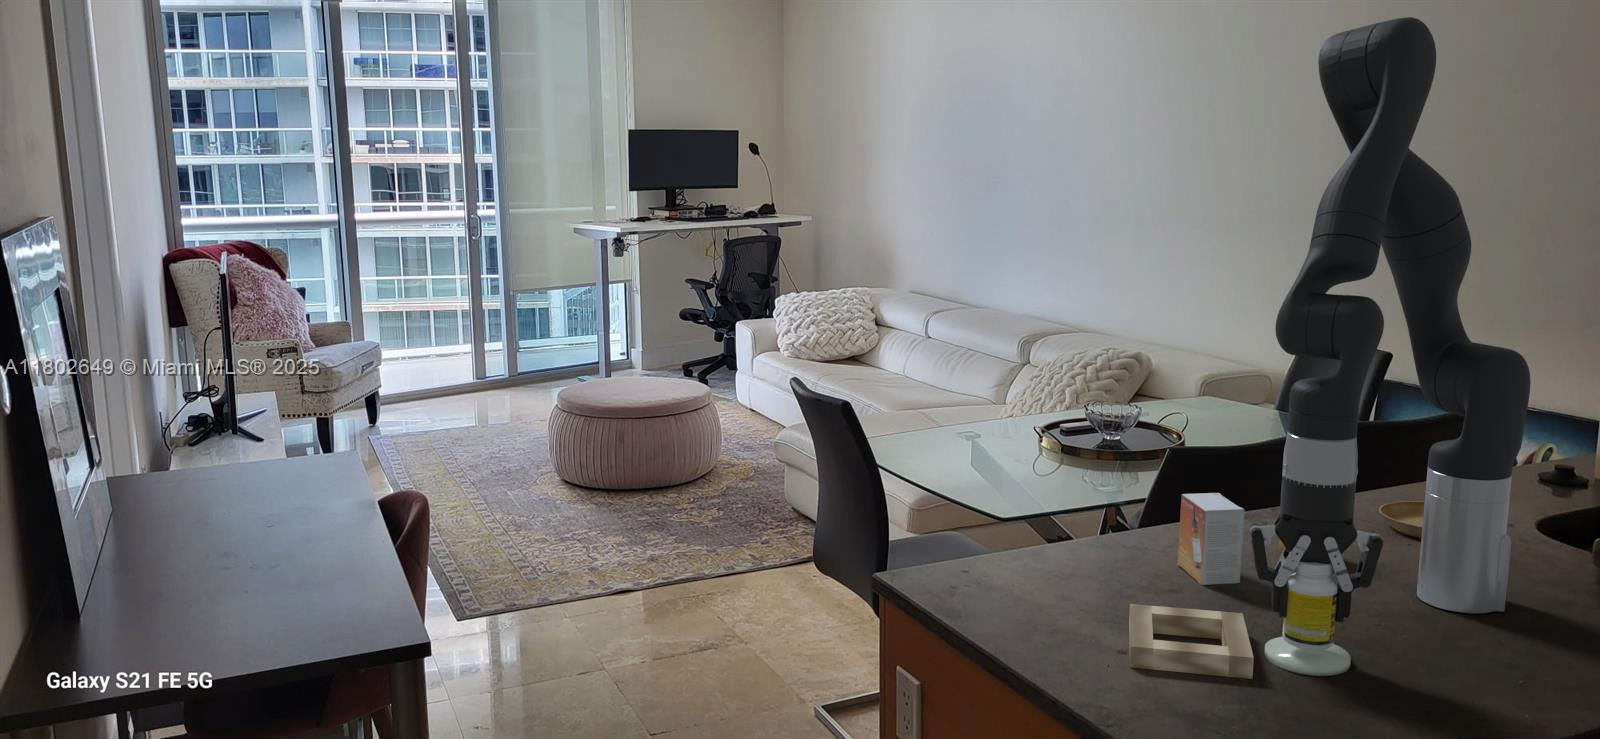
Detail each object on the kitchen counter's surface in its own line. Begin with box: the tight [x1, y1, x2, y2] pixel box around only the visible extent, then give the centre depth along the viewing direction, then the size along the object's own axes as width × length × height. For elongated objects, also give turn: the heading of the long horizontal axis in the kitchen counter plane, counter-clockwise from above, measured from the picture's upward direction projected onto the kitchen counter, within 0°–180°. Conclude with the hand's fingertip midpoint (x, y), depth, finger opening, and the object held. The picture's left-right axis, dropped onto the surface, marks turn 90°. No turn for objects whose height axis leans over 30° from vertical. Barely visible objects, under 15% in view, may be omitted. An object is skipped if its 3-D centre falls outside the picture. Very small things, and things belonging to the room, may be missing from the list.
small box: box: [1177, 492, 1246, 586], centre depth 160 cm, size 8×6×10 cm
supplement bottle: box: [1281, 561, 1338, 650], centre depth 133 cm, size 5×5×10 cm
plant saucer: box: [1378, 500, 1425, 539], centre depth 179 cm, size 15×15×3 cm
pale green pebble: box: [1264, 636, 1352, 677], centre depth 134 cm, size 9×9×1 cm
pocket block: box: [1128, 603, 1255, 680], centre depth 137 cm, size 13×13×2 cm
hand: (1309, 616), depth 133 cm, fingers closed on supplement bottle, 5 cm apart
